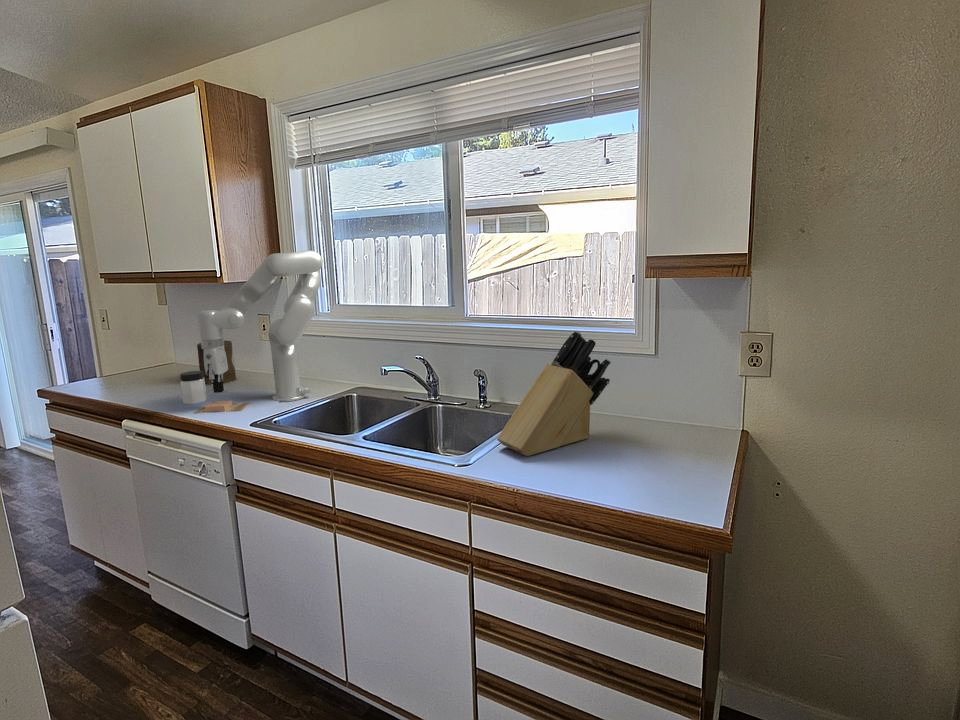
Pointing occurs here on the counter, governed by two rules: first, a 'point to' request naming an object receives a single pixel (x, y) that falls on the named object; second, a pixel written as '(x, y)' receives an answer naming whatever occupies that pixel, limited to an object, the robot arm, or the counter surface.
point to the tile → (218, 406)
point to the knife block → (557, 401)
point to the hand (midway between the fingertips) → (219, 391)
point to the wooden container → (230, 373)
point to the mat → (232, 409)
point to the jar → (193, 387)
